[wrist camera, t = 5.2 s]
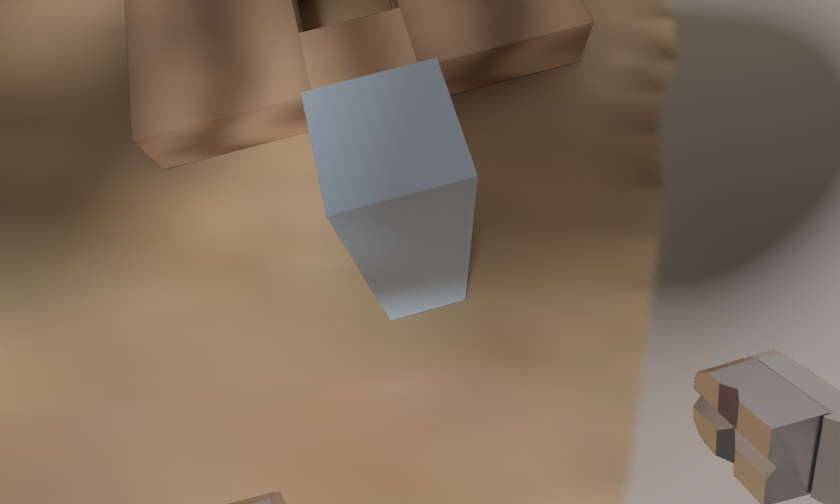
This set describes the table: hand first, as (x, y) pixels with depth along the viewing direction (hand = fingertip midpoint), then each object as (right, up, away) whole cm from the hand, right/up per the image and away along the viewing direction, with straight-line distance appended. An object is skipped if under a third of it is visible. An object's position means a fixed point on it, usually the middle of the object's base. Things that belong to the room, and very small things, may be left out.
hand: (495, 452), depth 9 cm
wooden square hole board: (-6, +19, +22) cm, 30 cm away
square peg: (-2, +3, +16) cm, 16 cm away
